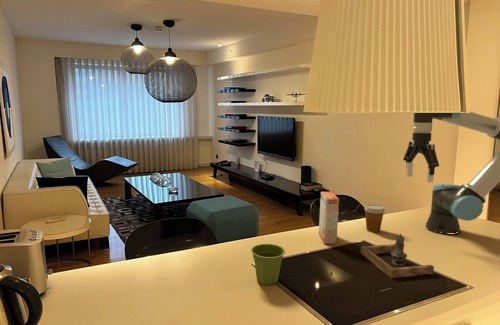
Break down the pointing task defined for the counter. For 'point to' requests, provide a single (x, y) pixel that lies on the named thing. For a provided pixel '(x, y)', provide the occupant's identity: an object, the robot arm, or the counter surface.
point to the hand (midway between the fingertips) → (419, 179)
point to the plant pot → (267, 262)
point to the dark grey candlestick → (399, 252)
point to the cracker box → (328, 217)
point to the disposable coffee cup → (374, 217)
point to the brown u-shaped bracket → (386, 268)
